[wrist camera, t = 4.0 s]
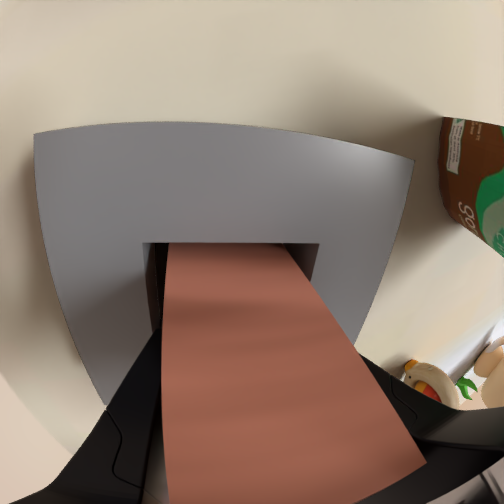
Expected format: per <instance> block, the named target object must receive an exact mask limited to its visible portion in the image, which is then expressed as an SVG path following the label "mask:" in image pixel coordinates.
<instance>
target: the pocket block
mask: <svg viewBox="0 0 504 504" xmlns="http://www.w3.org/2000/svg"><path fill="white" fill-rule="evenodd" d="M414 163H415V160H412V159H409V158H406V157H403V156H399V155H396V154H393V153H389V152H386V151H382V150H379V149H375V148H371V147H367V146H363V145H359V144H355V143H351V142H346V141H342V140H337V139H332V138H327V137H322V136H317V135H311V134H306V133H300V132H293V131H287V130H280V129H272V128H264V127H255V126H246V125H235V124H222V123H205V122H128V123H112V124H100V125H89V126H80V127H72V128H65V129H59V130H53V131H47V132H42V133H36V134H34V168H35V182H36V193H37V202H38V209H39V216H40V223H41V229H42V234H43V239H44V244H45V249H46V254H47V258H48V262H49V267H50V270H51V274H52V278H53V282H54V285H55V289H56V292H57V295H58V299H59V302H60V305H61V308H62V311H63V314H64V317H65V320H66V322H67V325H68V328H69V330H70V333H71V336H72V338H73V341H74V343H75V346H76V348H77V350H78V353H79V355H80V357H81V360H82V362H83V364H84V366H85V368H86V370H87V373H88V375H89V377H90V379H91V381H92V383H93V385H94V387H95V389H96V391H97V392H98V394H99V396H100V398H101V400H102V402H103V403H104V405H108V404H109V402H110V400H111V399H112V397H113V395H114V394H115V392H116V391H117V389H118V387H119V386H120V384H121V382H122V381H123V379H124V378H125V376H126V374H127V373H128V371H129V370H130V368H131V366H132V365H133V363H134V362H135V360H136V358H137V357H138V355H139V354H140V352H141V351H142V349H143V348H144V346H145V344H146V343H147V341H148V340H149V338H150V337H151V335H152V334H153V332H154V331H155V329H157V328H163V319H161V318H160V310H159V300H158V289H157V277H156V263H155V246H154V243H158V242H202V243H283V245H284V247H285V248H286V250H287V251H288V252H289V254H290V255H291V256H292V258H293V259H294V261H295V262H296V263H297V265H298V266H299V268H300V269H301V271H302V272H303V273H304V275H305V276H306V278H307V279H308V280H309V282H310V283H311V285H312V286H313V288H314V289H315V290H316V292H317V293H318V295H319V296H320V298H321V299H322V300H323V302H324V303H325V305H326V306H327V308H328V309H329V311H330V312H331V314H332V315H333V316H334V318H335V319H336V321H337V322H338V324H339V325H340V327H341V328H342V330H343V331H344V333H345V334H346V336H347V337H348V339H349V340H350V342H351V343H352V345H354V343H355V341H356V339H357V337H358V335H359V333H360V330H361V328H362V326H363V324H364V321H365V319H366V317H367V314H368V312H369V310H370V307H371V305H372V302H373V300H374V297H375V295H376V292H377V290H378V287H379V284H380V282H381V279H382V276H383V274H384V271H385V268H386V265H387V262H388V259H389V256H390V253H391V250H392V247H393V244H394V241H395V238H396V234H397V231H398V228H399V224H400V221H401V217H402V214H403V210H404V206H405V202H406V198H407V194H408V190H409V186H410V182H411V177H412V173H413V168H414Z"/></svg>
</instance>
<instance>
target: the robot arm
mask: <svg viewBox="0 0 504 504" xmlns="http://www.w3.org/2000/svg"><path fill="white" fill-rule="evenodd" d="M358 354H359V353H358ZM359 355H360V357H361V358H362V360H363V361H364V363H365V364H366V366H367V367H368V369H369V370H370V372H371V373H372V375H373V376H374V378H375V379H376V381H377V383H378V384H379V386H380V387H381V389H382V390H383V392H384V394H385V395H386V397H387V398H388V400H389V401H390V403H391V405H392V406H393V408H394V409H395V411H396V413H397V414H398V416H399V417H400V419H401V421H402V422H403V424H404V425H405V427H406V429H407V430H408V432H409V434H410V435H411V437H412V439H413V440H414V442H415V443H416V445H417V447H418V448H419V450H420V452H421V454H422V455H423V457H424V459H425V460H426V462H427V463H426V464H424V465H423V466H421V467H420V468H418V469H417V470H415V471H414V472H412V473H411V474H409V475H408V476H406V477H404V478H403V479H401V480H399V481H398V482H396V483H394V484H393V485H391V486H389V487H387V488H385V489H384V490H382V491H380V492H378V493H376V494H374V495H372V496H370V497H368V498H366V499H364V500H362V501H360V502H358V503H355V504H504V406H502V407H495V408H488V409H479V410H467V411H464V410H457V409H454V408H451V407H449V406H447V405H445V404H443V403H441V402H439V401H437V400H435V399H433V398H431V397H429V396H427V395H425V394H423V393H421V392H419V391H417V390H416V389H414V388H412V387H410V386H409V385H407V384H405V383H404V382H402V381H400V380H399V379H397V378H396V377H394V376H393V375H390V374H389V373H388V372H386V371H385V370H383V369H382V368H380V367H379V366H377V365H376V364H374V363H373V362H371V361H370V360H368V359H367V358H365V357H364V356H362V355H361V354H359ZM161 366H162V328H157V329H155V331H154V332H153V334H152V335H151V337H150V338H149V340H148V341H147V343H146V344H145V346H144V348H143V349H142V351H141V352H140V354H139V355H138V357H137V358H136V360H135V362H134V363H133V365H132V366H131V368H130V370H129V371H128V373H127V374H126V376H125V378H124V379H123V381H122V382H121V384H120V386H119V387H118V389H117V391H116V392H115V394H114V395H113V397H112V399H111V400H110V402H109V404H108V405H107V407H106V410H104V412H103V414H102V415H101V417H100V419H99V420H98V422H97V423H96V425H95V427H94V428H93V430H92V431H91V433H90V434H89V436H88V437H87V438H86V440H85V441H84V443H83V444H82V445H81V447H80V448H79V449H78V451H77V452H76V453H75V454H74V456H73V457H72V458H71V460H70V461H69V462H68V464H67V465H66V466H65V467H64V469H63V470H62V471H61V473H60V474H59V475H58V477H57V478H56V479H55V480H54V481H53V482H52V483H51V484H49V485H48V486H47V487H45V488H44V489H42V490H40V491H38V492H36V493H33V494H31V495H29V496H27V497H24V498H22V499H19V500H17V501H15V502H12V503H9V504H170V500H169V493H168V485H167V476H166V466H165V455H164V441H163V423H162V386H161Z"/></svg>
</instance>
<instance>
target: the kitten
mask: <svg viewBox="0 0 504 504" xmlns="http://www.w3.org/2000/svg"><path fill="white" fill-rule="evenodd" d="M501 345H504V336H503V337H500V338H498V339H497V340H495V341H494V342H493V343H492V344H490V345H489V346H488V347H487V348H486V349H485V350H484V351H483V352H482V353H481V355H480V356H479V358H478V359H477V361H476V363H475V365H474V369H473V370H474V373H475V374H476V375H478V376H480V377H484V378H487V377H488V378H487V379H486V381H485V382H484V384H483V387H482V390H481V397H482V400H483V402H484V403H485V405H486V406H487V407H488V408H495V407H502V406H504V353H503V349H502V346H501ZM456 385H457V386H458V387H459V388H460V390H461V393H462V395H463V397H464V398H466V399H470V400H472V399H471V398H470V397H469V395H468V392H467V386H469V387H470V388H472V389H474V390H475V391H477V388H476V386H475V384H474V383H473V382H472V381H471V380H470V379H465V378H464V377H463V376H462V377H461V379H459V380H458V382H457V384H456Z"/></svg>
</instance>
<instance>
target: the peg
mask: <svg viewBox="0 0 504 504" xmlns="http://www.w3.org/2000/svg"><path fill="white" fill-rule="evenodd" d="M161 386H162V423H163V441H164V455H165V466H166V476H167V485H168V493H169V500H170V504H355V503H358V502H360V501H362V500H364V499H366V498H368V497H370V496H372V495H374V494H376V493H378V492H380V491H382V490H384V489H385V488H387V487H389V486H391V485H393V484H394V483H396V482H398V481H399V480H401V479H403V478H404V477H406V476H408V475H409V474H411V473H412V472H414V471H415V470H417V469H418V468H420V467H421V466H423V465H424V464H426V463H427V462H426V460H425V459H424V457H423V455H422V454H421V452H420V450H419V448H418V447H417V445H416V443H415V442H414V440H413V439H412V437H411V435H410V434H409V432H408V430H407V429H406V427H405V425H404V424H403V422H402V421H401V419H400V417H399V416H398V414H397V413H396V411H395V409H394V408H393V406H392V405H391V403H390V401H389V400H388V398H387V397H386V395H385V394H384V392H383V390H382V389H381V387H380V386H379V384H378V383H377V381H376V379H375V378H374V376H373V375H372V373H371V372H370V370H369V369H368V367H367V366H366V364H365V363H364V361H363V360H362V358H361V357H360V355H359V354H358V352H357V351H356V349H355V348H354V346H353V345H352V343H351V342H350V340H349V339H348V337H347V336H346V334H345V333H344V331H343V330H342V328H341V327H340V325H339V324H338V322H337V321H336V319H335V318H334V316H333V315H332V314H331V312H330V311H329V309H328V308H327V306H326V305H325V303H324V302H323V300H322V299H321V298H320V296H319V295H318V293H317V292H316V290H315V289H314V288H313V286H312V285H311V283H310V282H309V280H308V279H307V278H306V276H305V275H304V273H303V272H302V271H301V269H300V268H299V266H298V265H297V263H296V262H295V261H294V259H293V258H292V256H291V255H290V254H289V252H288V251H287V250H286V248H285V247H284V245H283V244H282V243H202V242H169V249H168V258H167V268H166V280H165V293H164V308H163V328H162V366H161Z"/></svg>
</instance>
